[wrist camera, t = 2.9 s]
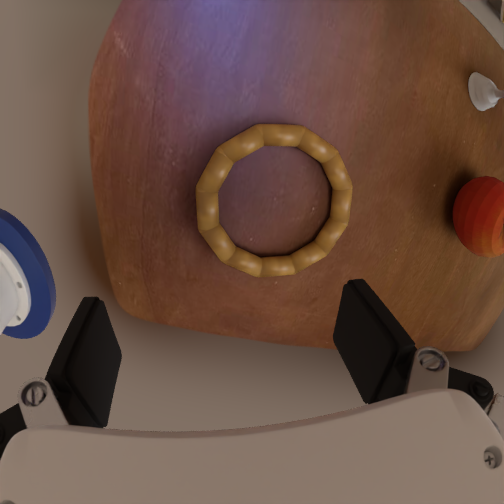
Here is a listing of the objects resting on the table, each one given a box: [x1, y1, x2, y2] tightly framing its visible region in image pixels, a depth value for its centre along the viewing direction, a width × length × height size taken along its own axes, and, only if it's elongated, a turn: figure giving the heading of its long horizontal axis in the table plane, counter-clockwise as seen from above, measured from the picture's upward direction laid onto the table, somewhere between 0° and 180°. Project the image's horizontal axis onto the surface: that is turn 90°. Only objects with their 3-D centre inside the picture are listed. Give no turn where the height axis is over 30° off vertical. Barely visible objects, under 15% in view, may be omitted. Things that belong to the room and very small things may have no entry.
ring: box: [196, 124, 353, 277], centre depth 24 cm, size 14×14×2 cm
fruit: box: [453, 176, 504, 257], centre depth 24 cm, size 10×10×10 cm
